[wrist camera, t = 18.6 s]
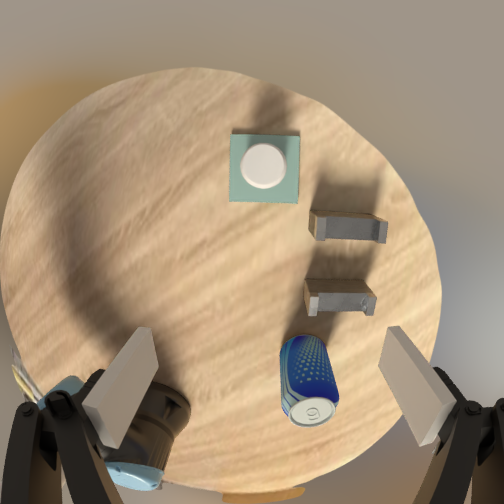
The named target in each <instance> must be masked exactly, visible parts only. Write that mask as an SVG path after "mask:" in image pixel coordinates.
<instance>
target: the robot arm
mask: <svg viewBox="0 0 504 504" xmlns="http://www.w3.org/2000/svg"><path fill="white" fill-rule="evenodd" d="M378 367H379V368H380V370H381V372H382V374H383V376H384V378H385V380H386V381H387V383H388V385H389V387H390V389H391V391H392V393H393V395H394V397H395V399H396V401H397V403H398V404H399V406H400V408H401V410H402V412H403V414H404V416H405V418H406V420H407V422H408V424H409V426H410V429H411V431H412V433H413V435H414V437H415V439H416V441H417V443H418V445H419V446H423V445H426V444H429V443H432V442H433V441H434V439H435V438H436V436H437V435H439V437H440V439H441V440H440V441H439V443H438V444H437V446H436V447H435V449H434V450H433V452H432V454H434V456H433V459H432V461H431V464H430V466H429V469H428V472H427V474H426V476H425V478H424V481H423V483H422V485H421V487H420V490H419V492H418V494H417V496H416V498H415V500H414V502H413V504H464V500H465V498H466V494H467V491H468V488H469V484H470V481H471V477H472V497H471V504H504V398H500V399H499V400H497V402H496V404H495V405H494V407H486V408H483V407H482V406H481V405H480V404H479V403H478V402H475V401H470V400H469V401H467V400H466V399H465V397H464V396H463V395H462V393H461V392H460V391H459V389H458V388H457V387H456V385H455V384H453V382H452V380H451V379H450V378H449V376H448V375H447V374H446V373H445V371H443V370H442V369H440V368H438V367H433V368H432V367H431V365H430V364H429V363H428V361H427V360H426V359H425V358H424V356H423V355H422V354H421V352H420V351H419V350H418V349H417V347H416V346H415V345H414V344H413V342H412V341H411V340H410V339H409V337H408V336H407V335H406V334H405V332H404V331H403V330H402V329H401V327H400V326H393V327H388V328H387V332H386V337H385V341H384V345H383V349H382V353H381V357H380V361H379V365H378ZM158 368H159V365H158V360H157V355H156V351H155V346H154V341H153V336H152V331H151V328H150V327H138V328H137V329H136V331H135V332H134V333H133V335H132V336H131V337H130V338H129V340H128V341H127V342H126V344H125V345H124V346H123V348H122V349H121V350H120V352H119V353H118V354H117V356H116V357H115V358H114V360H113V361H112V362H111V364H110V365H109V366H108V368H107V369H106V370H103V369H99V370H97V371H96V372H94V373H93V374H92V375H91V376H90V377H89V379H88V380H87V382H86V383H84V382H83V381H82V380H81V379H79V378H78V377H77V376H68V377H66V378H65V379H64V380H62V381H61V382H60V383H58V384H57V385H56V386H55V387H54V388H53V389H51V390H50V391H49V392H48V393H47V394H46V395H45V396H44V397H43V398H42V399H40V400H39V401H38V402H37V404H36V403H34V402H30V401H29V402H25V403H22V404H21V405H20V406H19V407H18V408H17V410H16V414H15V417H14V421H13V425H12V429H11V434H10V438H9V443H8V448H7V454H6V459H5V466H4V472H3V480H2V481H1V483H0V504H62V487H63V486H64V484H65V482H67V485H68V488H69V491H70V495H71V498H72V501H73V503H74V504H124V503H123V501H122V500H121V498H120V495H119V493H118V491H117V489H116V487H115V485H114V483H117V484H119V485H121V486H124V487H127V488H131V489H135V490H142V491H149V490H153V489H155V488H157V487H158V485H159V483H160V481H161V479H162V476H163V475H164V470H165V467H166V464H167V461H168V458H169V455H170V451H171V448H172V445H173V442H174V439H175V438H176V437H177V436H178V435H179V433H180V432H181V431H182V430H183V429H184V428H185V427H186V426H187V424H188V422H189V419H190V415H191V410H190V407H189V405H188V403H187V402H186V400H185V399H184V398H183V397H182V396H181V395H180V394H178V393H177V392H176V391H174V390H173V389H171V388H169V387H167V386H165V385H162V384H159V383H155V382H151V381H152V379H153V377H154V375H155V373H156V371H157V369H158ZM434 452H435V453H434ZM113 482H114V483H113Z"/></svg>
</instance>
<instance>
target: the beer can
mask: <svg viewBox="0 0 504 504" xmlns="http://www.w3.org/2000/svg"><path fill="white" fill-rule="evenodd" d="M280 378H281V405H282V409H283V411H284V413H285V414H286V415H287V416H288V417H289V419H290V421H291V422H292V423H293V424H295V425H297V426H300V427H316V426H319V425H322V424H324V423H326V422H328V421H329V420H330V419H331V418H332V417H333V416H334V414H335V410H336V406H337V405H338V402H339V393H338V389H337V385H336V382H335V378H334V375H333V371H332V367H331V364H330V360H329V357H328V353H327V350H326V347H325V344H324V343H323V342H322V341H321V340H320V339H319V338H317V337H315V336H312V335H298V336H295V337H293V338H291V339H289V340H288V341H287V342H286V343H285V344H284V345H283V346H282V348H281V350H280Z"/></svg>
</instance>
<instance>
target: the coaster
mask: <svg viewBox="0 0 504 504" xmlns="http://www.w3.org/2000/svg"><path fill="white" fill-rule="evenodd" d="M258 143H269V144H272V145H274V146H276V147H278V148H279V149H280V150H281V151H282V152H283V154H284V156H285V158H286V161H287V170H286V174H285V176H284V178H283V179H282V181H281V182H280V183H279V184H277V185H276V186H274V187H271V188H267V189H261V188H256V187H254V186H252V185H250V184H249V183H248V182H247V181H246V180H245V179H244V177H243V176H242V173H241V169H240V162H241V158H242V156H243V154H244V152H245V151H246V150H247V149H248V148H249V147H251V146H252V145H255V144H258ZM299 144H300V136H285V135H253V134H230V187H229V202H269V203H294V204H298V180H299Z"/></svg>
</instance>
